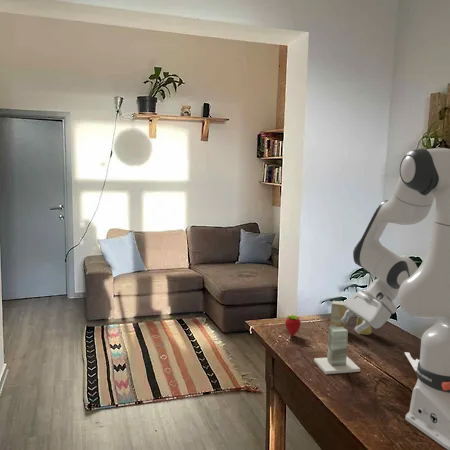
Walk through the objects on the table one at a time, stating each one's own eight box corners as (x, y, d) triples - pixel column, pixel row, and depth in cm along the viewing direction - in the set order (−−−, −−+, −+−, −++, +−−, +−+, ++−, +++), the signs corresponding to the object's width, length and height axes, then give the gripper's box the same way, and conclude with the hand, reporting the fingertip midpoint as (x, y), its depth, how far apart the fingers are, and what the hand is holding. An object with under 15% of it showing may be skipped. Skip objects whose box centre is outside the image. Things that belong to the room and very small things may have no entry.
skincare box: (329, 332, 183) (330, 303, 182) (330, 329, 187) (331, 300, 186) (346, 334, 181) (347, 304, 180) (346, 330, 185) (348, 301, 184)
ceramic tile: (360, 371, 149) (360, 368, 148) (325, 374, 146) (325, 371, 146) (346, 358, 158) (346, 356, 158) (314, 361, 156) (314, 358, 156)
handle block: (346, 365, 151) (347, 330, 149) (331, 366, 150) (333, 331, 148) (341, 360, 155) (342, 326, 153) (327, 361, 154) (328, 327, 152)
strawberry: (299, 333, 182) (300, 309, 181) (300, 340, 175) (301, 315, 173) (284, 332, 183) (285, 308, 181) (285, 339, 175) (285, 314, 174)
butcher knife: (419, 355, 163) (419, 352, 163) (431, 374, 148) (431, 371, 148) (404, 354, 164) (404, 351, 164) (415, 373, 149) (415, 369, 149)
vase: (372, 335, 180) (374, 300, 179) (356, 334, 182) (357, 299, 180) (370, 330, 186) (372, 296, 184) (355, 328, 188) (356, 295, 186)
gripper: (357, 282, 161) (330, 310, 161) (387, 298, 141) (357, 331, 141) (368, 294, 162) (341, 322, 162) (400, 312, 143) (370, 344, 142)
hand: (349, 326), depth 151 cm, fingers open, 8 cm apart
